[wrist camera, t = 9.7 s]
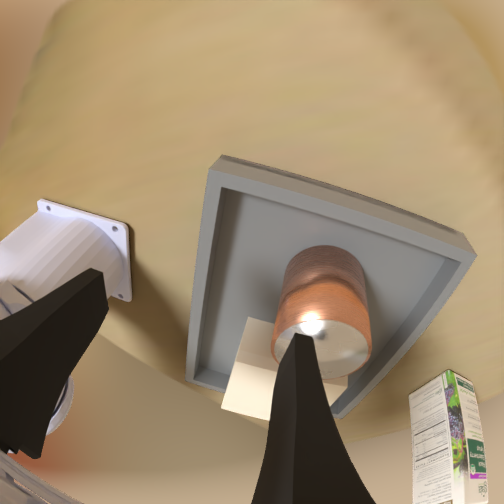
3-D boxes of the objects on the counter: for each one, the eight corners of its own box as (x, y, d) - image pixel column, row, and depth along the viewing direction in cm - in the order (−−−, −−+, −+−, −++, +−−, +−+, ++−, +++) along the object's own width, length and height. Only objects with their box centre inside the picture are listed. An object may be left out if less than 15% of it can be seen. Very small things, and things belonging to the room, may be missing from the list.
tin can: (276, 297, 22) (260, 368, 17) (296, 235, 19) (285, 305, 14) (346, 315, 21) (346, 387, 16) (376, 258, 18) (390, 331, 13)
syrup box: (473, 381, 25) (492, 502, 13) (434, 406, 28) (441, 519, 17) (448, 367, 24) (466, 507, 12) (405, 395, 28) (409, 523, 16)
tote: (192, 361, 30) (184, 380, 28) (222, 154, 17) (208, 168, 15) (342, 398, 29) (341, 418, 27) (463, 233, 17) (477, 255, 15)
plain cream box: (231, 370, 28) (220, 408, 25) (248, 316, 23) (235, 360, 20) (312, 390, 28) (308, 428, 24) (347, 342, 23) (347, 387, 20)
